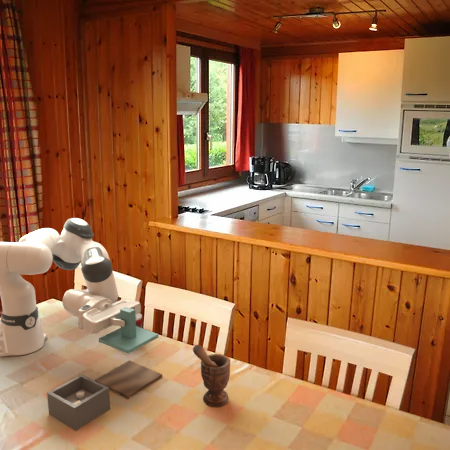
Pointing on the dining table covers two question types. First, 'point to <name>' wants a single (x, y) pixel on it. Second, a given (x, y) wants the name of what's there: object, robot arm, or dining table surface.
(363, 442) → the dining table surface
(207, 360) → the mortar and pestle
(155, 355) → the dining table surface
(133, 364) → the board
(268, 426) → the dining table surface
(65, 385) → the tub
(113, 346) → the lid
